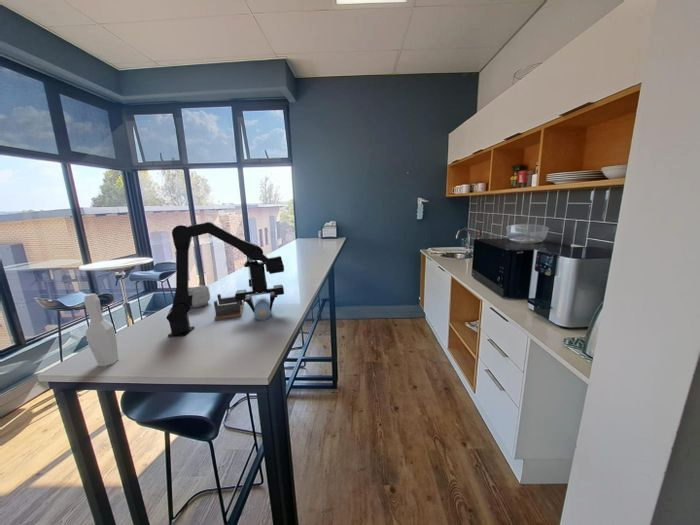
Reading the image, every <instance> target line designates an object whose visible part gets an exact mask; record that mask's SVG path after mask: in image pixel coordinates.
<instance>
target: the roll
mask: <svg viewBox="0 0 700 525" xmlns="http://www.w3.org/2000/svg"><path fill="white" fill-rule="evenodd" d="M254 303H255V304H254V307H255V310H254V312H253V316H254V318H255V319H256V320H257V321H263V322H264V321H267V319H269V318H270V315H271V311H270V298H268V297H266V296H260V297H257V298H256V300H255V302H254Z"/></svg>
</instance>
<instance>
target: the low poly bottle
mask: <svg viewBox="0 0 700 525" xmlns="http://www.w3.org/2000/svg"><path fill="white" fill-rule="evenodd" d="M83 304H84V307H85V309H86V312H87V314H88V317H89V320H90V323H89V325H88V327H87V329H86V331H85V337H86V340H87V343H88V346H89V348H90V351H91V352H92V354H93V357H94V358H95V361H96V363H97V365H98V367H99V366H103V367H108V366H111V365H114V364H115V363H117V362H118V361H119V353H118V344H117V335H116V332H115V329H114V328H115V327H114V325H113V322H112V323H111V322H110V321H108V320H106V319H105V318H104V316H103V313H102V309H101V308H102V307H101V301H100V298H99V296H98V295H97V294H96V293H88V294H86V295H84V302H83ZM117 360H118V361H117ZM116 361H117V362H116ZM113 363H114V364H113ZM110 364H111V365H110ZM107 365H108V366H107Z"/></svg>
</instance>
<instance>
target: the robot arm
mask: <svg viewBox="0 0 700 525" xmlns="http://www.w3.org/2000/svg"><path fill="white" fill-rule="evenodd" d="M205 234H209V235H211V236H213V237H214V238H216V239H218V240H221V241H222V242H224V243H226V244H228V245H230V246H232V247H234V248H235V249H237V250H239V252H241V253H242V254H243V255H245V256H246V257H247V258H248V259H246V261H245V263H243V267H244V268H249V277H250V278H249V279H248V286H249V288H251V290H250V291H249V290H248V291H247V289H246V288H245V289H239V290H236V291H235V294H234V296H235V299H236V301H240V300H242V302H244V303H245V302H246V304H247V305H248V306H249V308H250V309H251V311H252V312H253V313H254V310H255V304H254V300H253V297H254V296H260V295H268V294H269V301H270V312H272V309H273V305H274V302H275V299H276V298H278V296H280V295H281V296H282V295H284V294H285V288H284V285H282V284H276V285H273V287H272V288H271V287H270V288H268V282H267V278H266V277H267V276H266V272H267V273H269V275H274V274H280V273H284V272H285V266H284V263H283V259H282V258H283V257H282V256H281V255H278V256H272V257H268V256H267V255H265V254H264V251H263V248H262V247H261V246H259V245H258V244H255V243H252V242H249V241H246V240H243V239H241V238H239V237H238V236H236V235H234V234H232V233H230V232H228V231H226V230H225V229H223V228H221V227H220V226H218V225H216V224H214V223H213V222H211V221H206V222H202V223H197V224H191V225H188V224H183V223H182V224H178V225H176V226H175V227H173V229H172V231H171V236H172V241H173V244H174V245H173V246H174V248H175V254H176V256H175V258H176V259H175V265H176V267H175V270H176V271H175V279H176V280H175V284H176V285H175V293H174V296H173V301H172V305H171V308H170V309H169V311H168V313H167V316H166V320H167V321H168V322H169V327H170V333H169V334H167V337H181V336H186V335H188V334H189V333H190V332H191V331H192V330H194V329H195V326H191V324H190V319H189V314H188V313H189V312H190V311H191V308H192V307H191V306H193V303H194V299H193V294H194V291H191V292H190V290H189V289H190V287H189V286H190V284H189V282H190V280H189V278H190V276H189V275H190V274H189V273H190V271H189V267H190V266H189V264H190V263H189V261H190V247H191V243H192V238H193V237H198V236H202V235H205ZM250 260H251V261H250Z"/></svg>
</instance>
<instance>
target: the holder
mask: <svg viewBox="0 0 700 525" xmlns="http://www.w3.org/2000/svg"><path fill="white" fill-rule="evenodd" d="M213 305H214V306H213V307H214V311H215V316H214V321H220V320H221V321H222V320H228V319H234V318H240V317H242V313H243V310H244V309H243V308H244V305H245V302H243V300H240V301H236V299H235V295H232V296H228V297H227V296H226V297H221V293H218V294H217V300H214V301H213Z"/></svg>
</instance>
